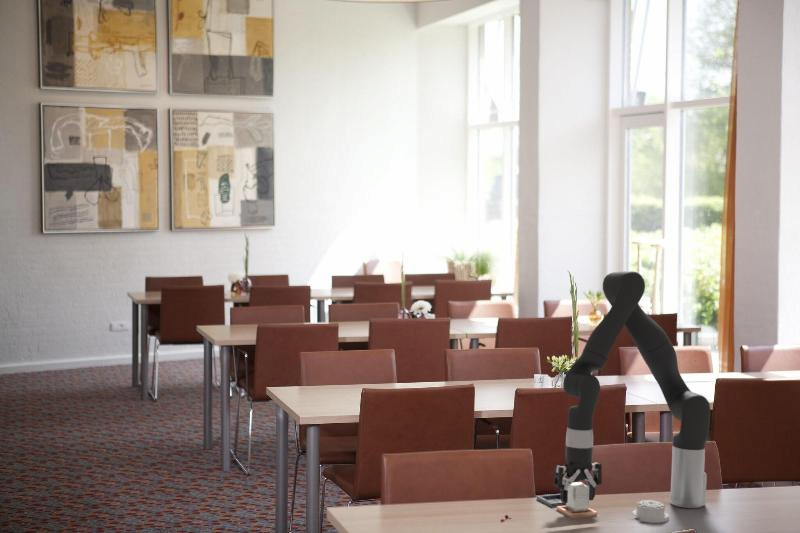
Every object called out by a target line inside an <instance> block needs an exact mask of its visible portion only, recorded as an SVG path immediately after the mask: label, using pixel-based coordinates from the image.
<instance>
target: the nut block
mask: <svg viewBox="0 0 800 533" xmlns="http://www.w3.org/2000/svg"><path fill="white" fill-rule="evenodd" d="M567 490H568V502H567V503H566V510H567V511H569V512H571V513H573V514H574V513H583V512H588V509H589V508H590V506H589V504H590V500H589V485H588V484H586V483H583V482H582V481H573V483H572V484H570V486H569V487H568V489H567Z"/></svg>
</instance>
